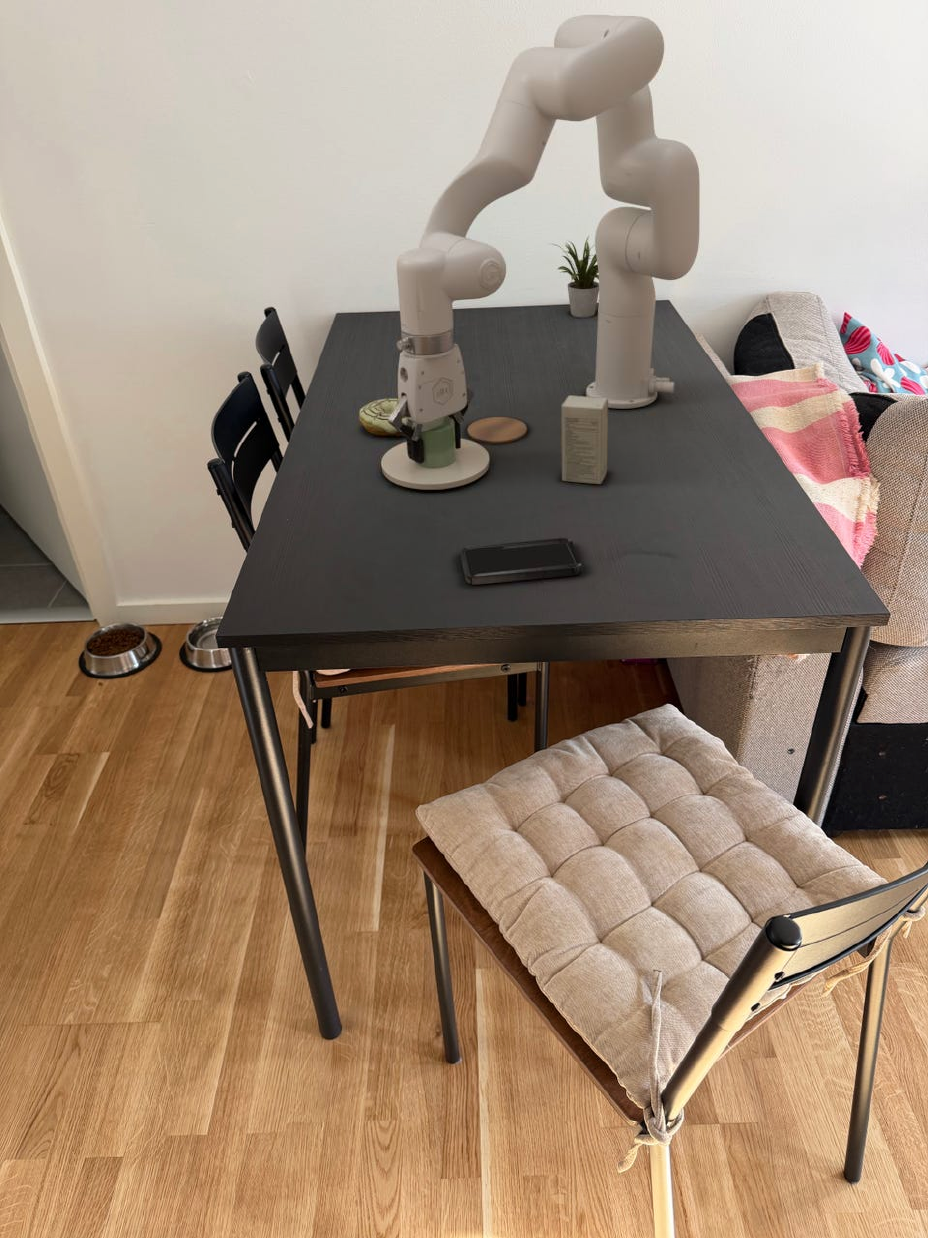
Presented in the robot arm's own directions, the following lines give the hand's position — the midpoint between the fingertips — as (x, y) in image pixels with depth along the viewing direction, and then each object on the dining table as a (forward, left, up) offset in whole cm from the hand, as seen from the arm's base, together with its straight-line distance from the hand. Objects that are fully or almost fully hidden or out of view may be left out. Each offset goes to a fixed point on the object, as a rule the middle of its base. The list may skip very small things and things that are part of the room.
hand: (434, 452), depth 148 cm
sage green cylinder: (0, 0, -1) cm, 1 cm away
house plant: (-3, -80, -3) cm, 80 cm away
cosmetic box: (-23, -3, -3) cm, 23 cm away
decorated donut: (+13, -13, -3) cm, 19 cm away
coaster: (-5, -16, -3) cm, 17 cm away
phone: (-21, +24, -3) cm, 32 cm away
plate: (0, 0, -3) cm, 3 cm away
